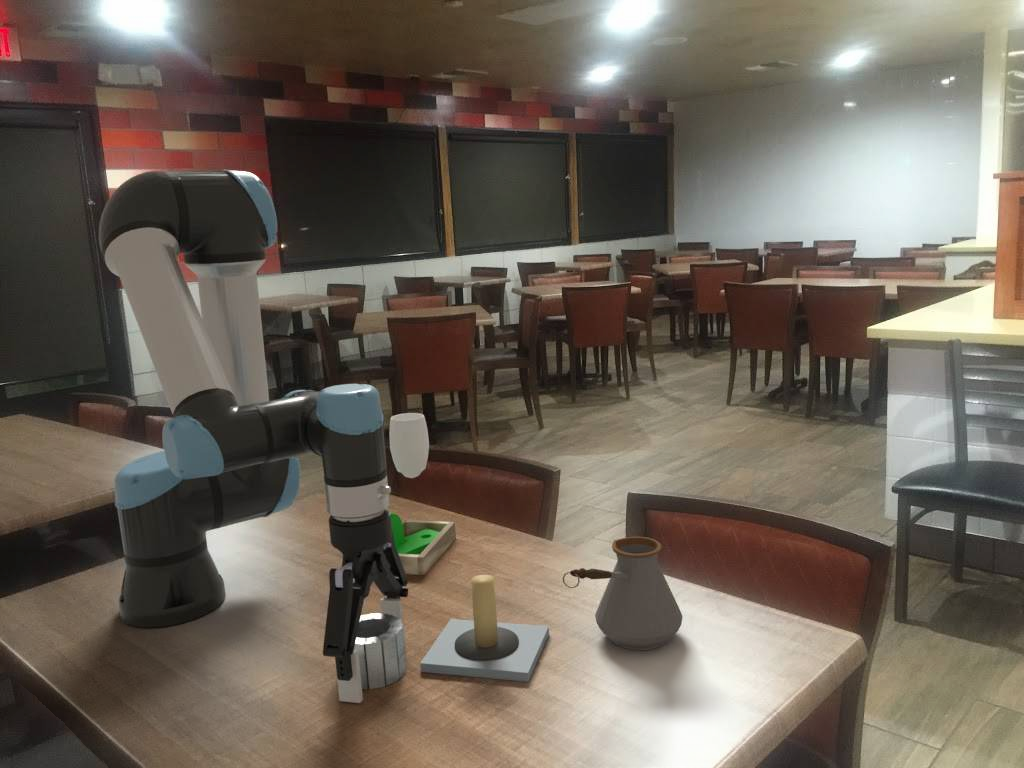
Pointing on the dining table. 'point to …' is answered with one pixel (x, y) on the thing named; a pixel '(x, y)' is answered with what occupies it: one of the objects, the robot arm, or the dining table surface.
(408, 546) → the mechanical part
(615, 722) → the dining table surface
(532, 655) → the square base plate
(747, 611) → the dining table surface
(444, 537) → the parts corral
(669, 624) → the coffee pot
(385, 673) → the ring
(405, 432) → the white rounded tapered piece
